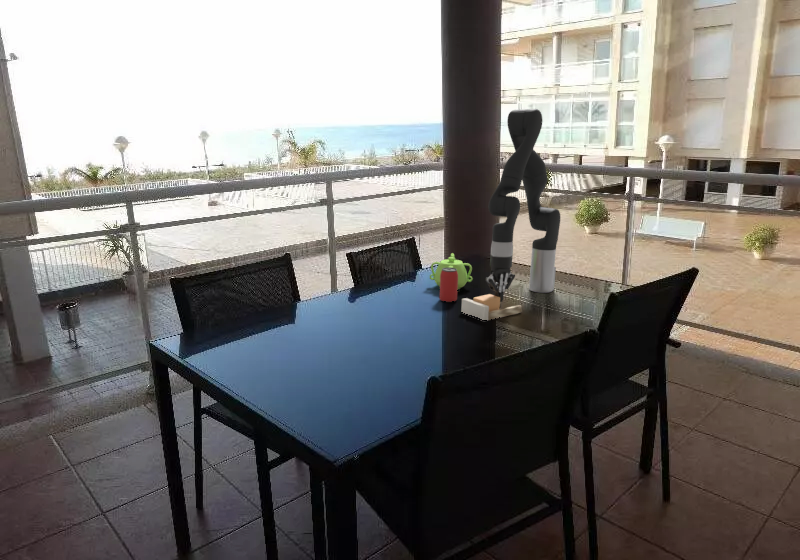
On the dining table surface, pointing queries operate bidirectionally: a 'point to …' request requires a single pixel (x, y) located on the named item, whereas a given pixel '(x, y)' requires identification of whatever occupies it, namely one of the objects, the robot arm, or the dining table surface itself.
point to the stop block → (475, 309)
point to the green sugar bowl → (452, 264)
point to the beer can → (448, 284)
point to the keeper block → (489, 301)
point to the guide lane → (504, 312)
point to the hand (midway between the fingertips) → (498, 301)
